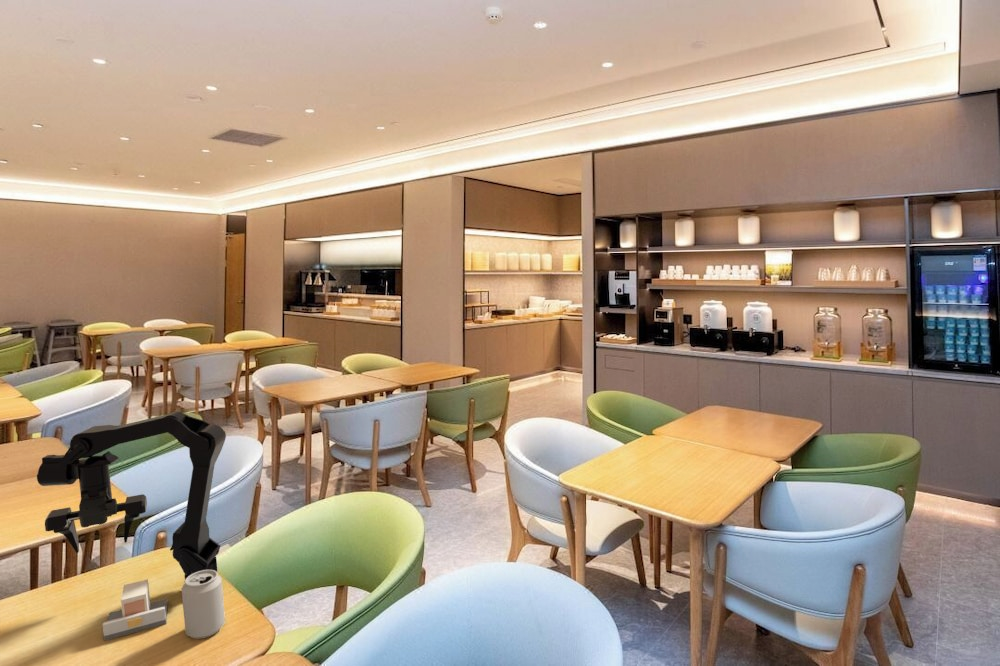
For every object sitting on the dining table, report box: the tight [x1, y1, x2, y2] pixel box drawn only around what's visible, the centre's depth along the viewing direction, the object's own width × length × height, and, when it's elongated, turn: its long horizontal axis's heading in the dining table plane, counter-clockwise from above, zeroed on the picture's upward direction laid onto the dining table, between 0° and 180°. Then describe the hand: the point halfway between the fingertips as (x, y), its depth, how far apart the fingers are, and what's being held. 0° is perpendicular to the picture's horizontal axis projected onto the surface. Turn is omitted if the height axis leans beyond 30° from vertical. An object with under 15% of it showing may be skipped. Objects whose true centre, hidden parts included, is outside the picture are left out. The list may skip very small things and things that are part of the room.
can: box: [181, 570, 226, 640], centre depth 119 cm, size 8×8×12 cm
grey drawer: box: [102, 598, 168, 642], centre depth 123 cm, size 11×9×4 cm
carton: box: [120, 579, 151, 617], centre depth 123 cm, size 7×4×6 cm
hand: (102, 546), depth 132 cm, fingers open, 9 cm apart
